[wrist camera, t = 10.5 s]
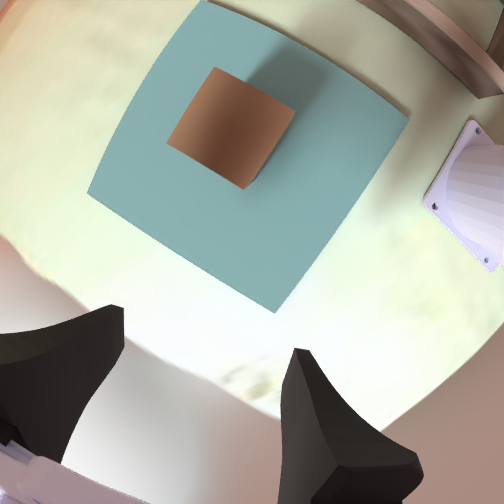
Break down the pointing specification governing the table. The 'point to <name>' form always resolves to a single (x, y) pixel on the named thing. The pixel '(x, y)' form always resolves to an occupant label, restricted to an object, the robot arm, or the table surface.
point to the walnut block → (231, 127)
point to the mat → (273, 172)
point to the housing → (449, 43)
